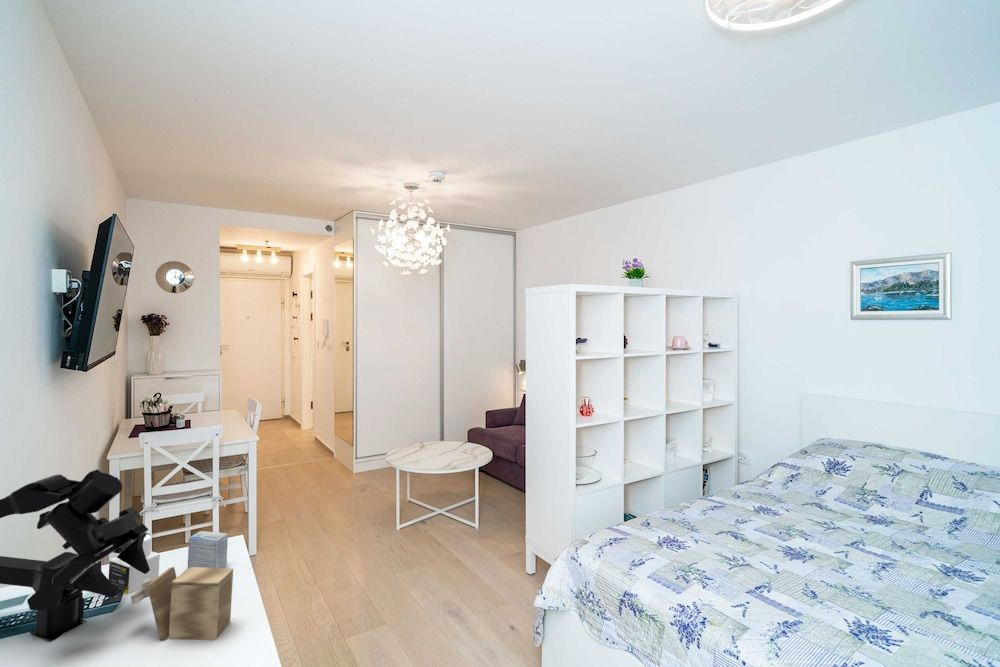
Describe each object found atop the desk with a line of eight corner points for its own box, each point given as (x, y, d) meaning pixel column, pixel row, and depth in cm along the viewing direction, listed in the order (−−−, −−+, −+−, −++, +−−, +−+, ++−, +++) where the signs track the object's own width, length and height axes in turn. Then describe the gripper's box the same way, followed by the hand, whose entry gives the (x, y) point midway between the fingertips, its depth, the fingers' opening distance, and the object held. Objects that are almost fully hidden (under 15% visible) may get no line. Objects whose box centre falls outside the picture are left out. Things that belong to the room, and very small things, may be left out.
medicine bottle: (107, 589, 113) (110, 538, 113) (139, 575, 120) (141, 527, 120) (127, 597, 111) (130, 544, 111) (158, 582, 117) (161, 533, 117)
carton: (168, 641, 96) (171, 581, 96) (186, 623, 102) (189, 567, 102) (214, 643, 97) (218, 583, 97) (230, 624, 103) (233, 568, 103)
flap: (139, 646, 96) (125, 590, 95) (162, 624, 102) (149, 572, 102) (165, 639, 96) (151, 584, 96) (186, 618, 103) (174, 566, 103)
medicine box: (227, 565, 127) (228, 533, 127) (215, 574, 123) (217, 540, 123) (199, 562, 128) (200, 530, 128) (186, 571, 123) (188, 537, 123)
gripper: (71, 518, 89) (130, 579, 90) (141, 486, 108) (189, 537, 108) (24, 559, 89) (83, 621, 89) (103, 520, 107) (151, 571, 108)
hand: (132, 583), depth 99 cm, fingers open, 9 cm apart
